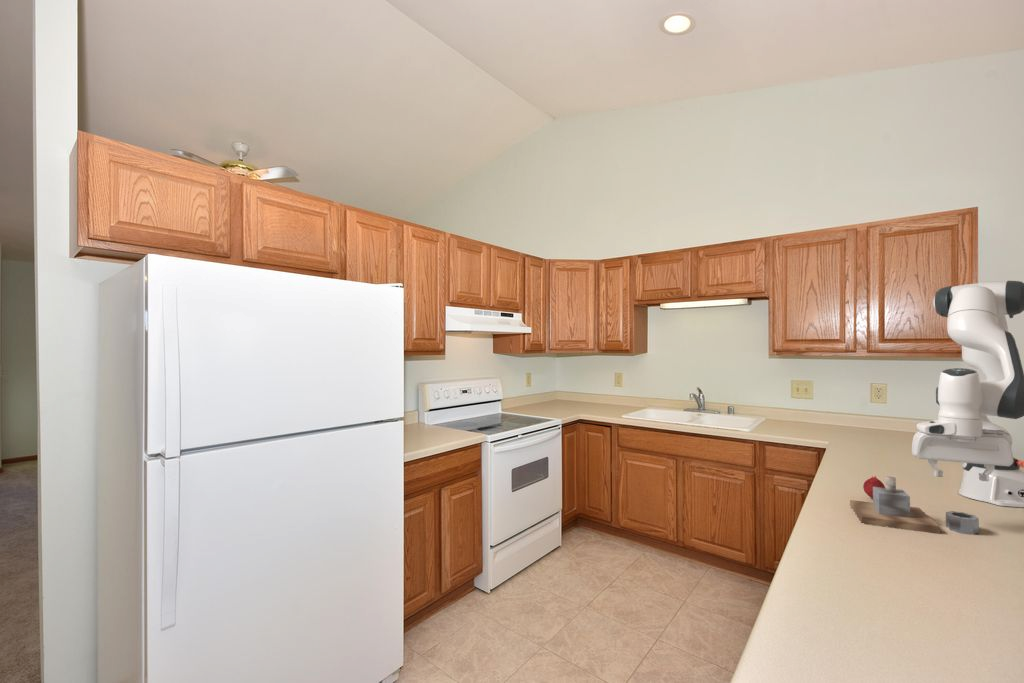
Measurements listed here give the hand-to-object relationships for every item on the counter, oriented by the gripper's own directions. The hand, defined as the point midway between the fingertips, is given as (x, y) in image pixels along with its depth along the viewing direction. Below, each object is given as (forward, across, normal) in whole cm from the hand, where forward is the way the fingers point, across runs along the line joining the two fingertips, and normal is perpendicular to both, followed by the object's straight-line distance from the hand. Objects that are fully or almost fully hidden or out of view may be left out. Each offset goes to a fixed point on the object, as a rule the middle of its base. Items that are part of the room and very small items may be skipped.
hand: (960, 478), depth 127 cm
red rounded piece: (+14, +15, -21) cm, 30 cm away
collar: (+14, 0, 0) cm, 14 cm away
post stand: (+14, +15, -2) cm, 21 cm away
